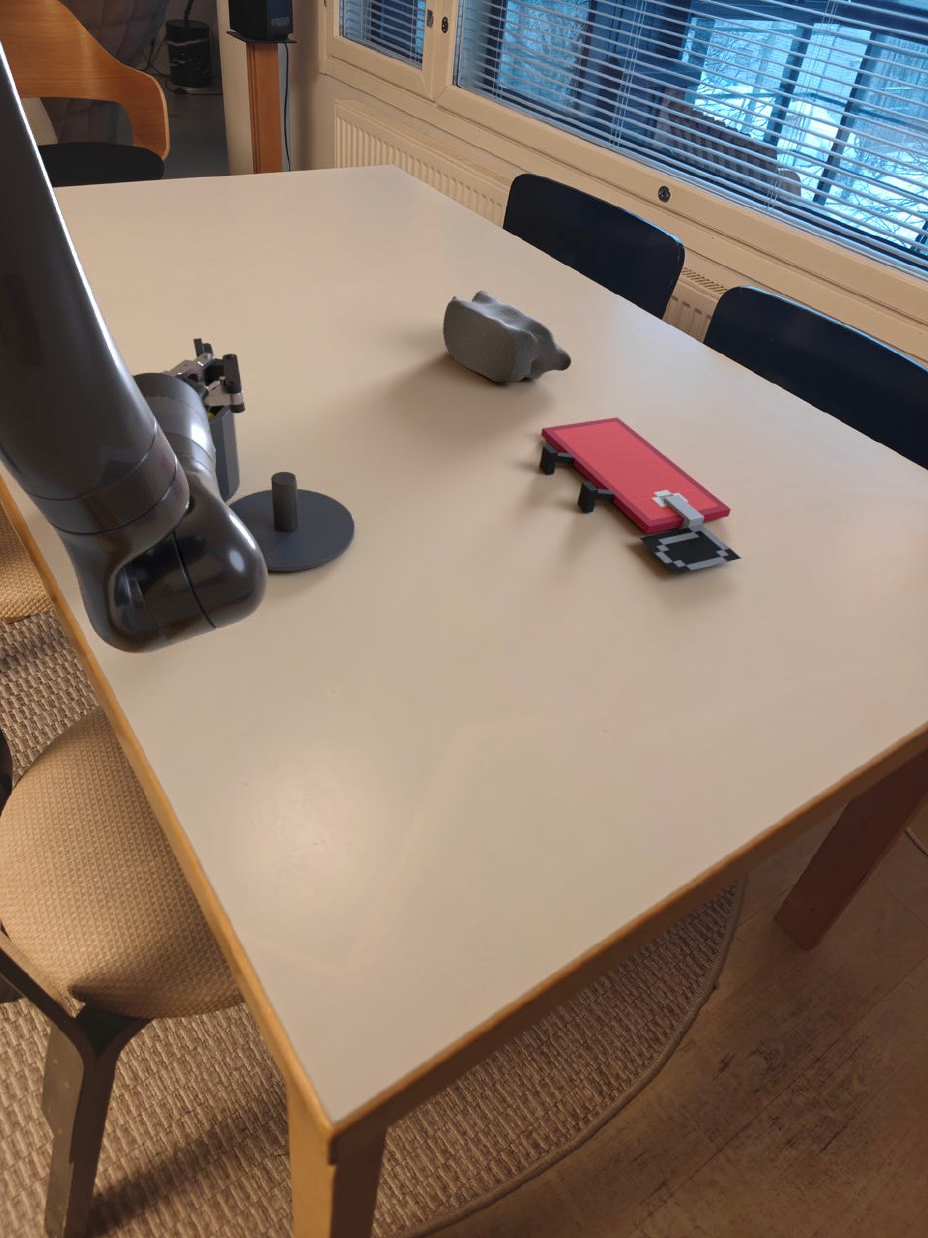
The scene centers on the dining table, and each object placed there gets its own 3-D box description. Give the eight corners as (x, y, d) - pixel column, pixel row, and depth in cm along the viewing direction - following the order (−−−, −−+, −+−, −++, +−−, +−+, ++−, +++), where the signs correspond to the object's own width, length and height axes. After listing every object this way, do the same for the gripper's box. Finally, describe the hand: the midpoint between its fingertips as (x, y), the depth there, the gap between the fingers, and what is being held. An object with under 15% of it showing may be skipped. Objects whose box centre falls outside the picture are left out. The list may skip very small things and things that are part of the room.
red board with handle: (659, 585, 85) (772, 557, 91) (666, 562, 83) (781, 535, 89) (514, 442, 105) (615, 427, 111) (517, 421, 103) (619, 407, 109)
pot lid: (193, 559, 82) (184, 501, 78) (249, 486, 92) (245, 432, 88) (329, 588, 81) (328, 530, 76) (371, 511, 91) (372, 456, 87)
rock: (577, 380, 120) (587, 324, 114) (518, 399, 114) (526, 341, 108) (490, 333, 129) (495, 280, 124) (431, 348, 123) (435, 293, 118)
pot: (78, 516, 86) (57, 431, 79) (163, 432, 99) (151, 354, 93) (197, 541, 84) (185, 456, 78) (267, 453, 98) (262, 374, 92)
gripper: (250, 386, 62) (225, 302, 74) (39, 411, 58) (47, 320, 70) (264, 475, 67) (238, 384, 78) (70, 504, 63) (72, 404, 75)
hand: (148, 354), depth 74 cm, fingers open, 8 cm apart
